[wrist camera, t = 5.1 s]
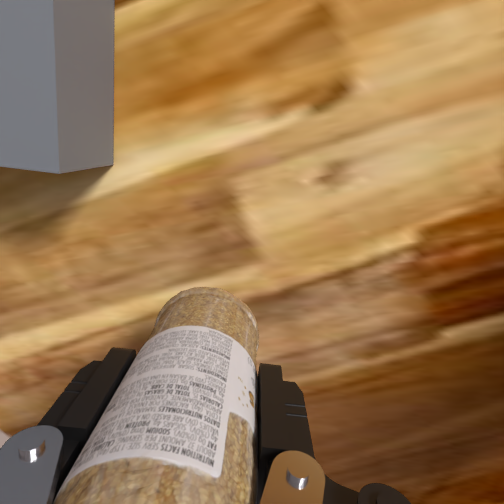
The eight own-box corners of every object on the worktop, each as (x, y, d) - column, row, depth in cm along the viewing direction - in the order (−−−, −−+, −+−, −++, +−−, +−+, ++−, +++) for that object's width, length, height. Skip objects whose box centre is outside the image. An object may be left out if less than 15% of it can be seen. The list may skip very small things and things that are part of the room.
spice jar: (250, 381, 16) (222, 1305, 3) (151, 365, 16) (-280, 1276, 3) (268, 291, 15) (344, 1266, 2) (160, 272, 15) (-530, 1214, 2)
